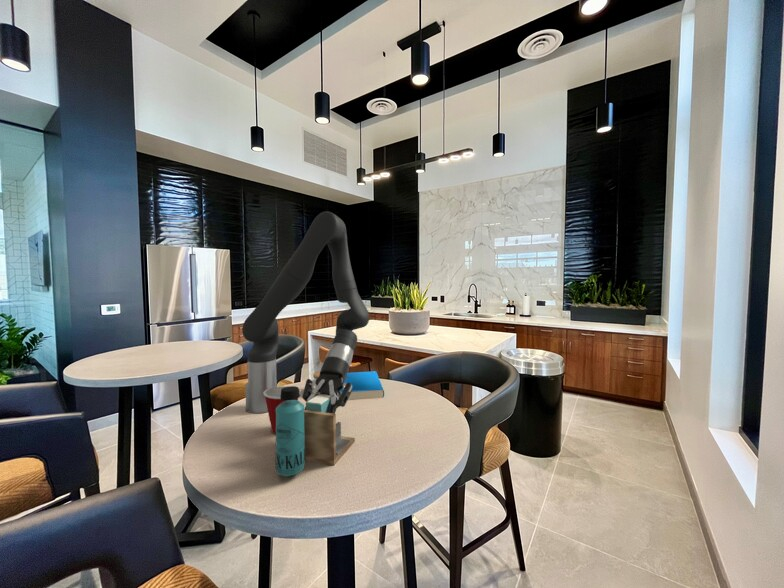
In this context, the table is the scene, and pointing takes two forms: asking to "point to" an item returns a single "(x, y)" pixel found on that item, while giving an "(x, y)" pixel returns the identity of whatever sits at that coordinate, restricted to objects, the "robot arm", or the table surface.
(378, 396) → the book
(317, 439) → the shelf
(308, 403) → the teal book
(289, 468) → the beverage bottle
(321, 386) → the robot arm
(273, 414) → the plastic cup
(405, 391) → the table surface
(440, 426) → the table surface
